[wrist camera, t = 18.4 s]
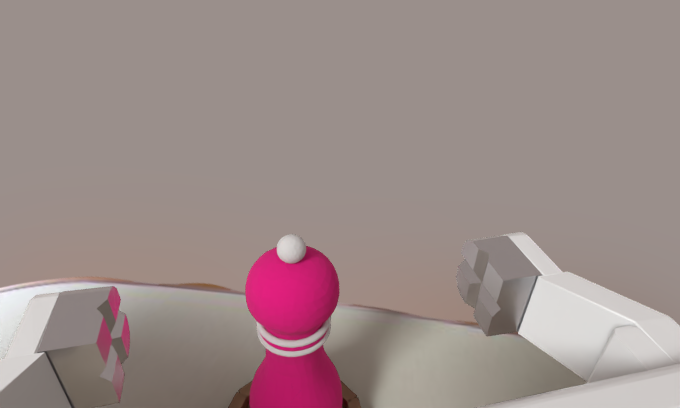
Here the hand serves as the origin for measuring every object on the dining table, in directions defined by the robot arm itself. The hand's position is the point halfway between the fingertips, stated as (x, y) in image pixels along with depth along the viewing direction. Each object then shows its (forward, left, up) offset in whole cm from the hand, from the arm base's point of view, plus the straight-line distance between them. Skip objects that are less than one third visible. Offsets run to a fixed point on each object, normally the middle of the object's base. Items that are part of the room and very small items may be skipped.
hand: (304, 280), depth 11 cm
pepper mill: (+1, +14, -29) cm, 32 cm away
